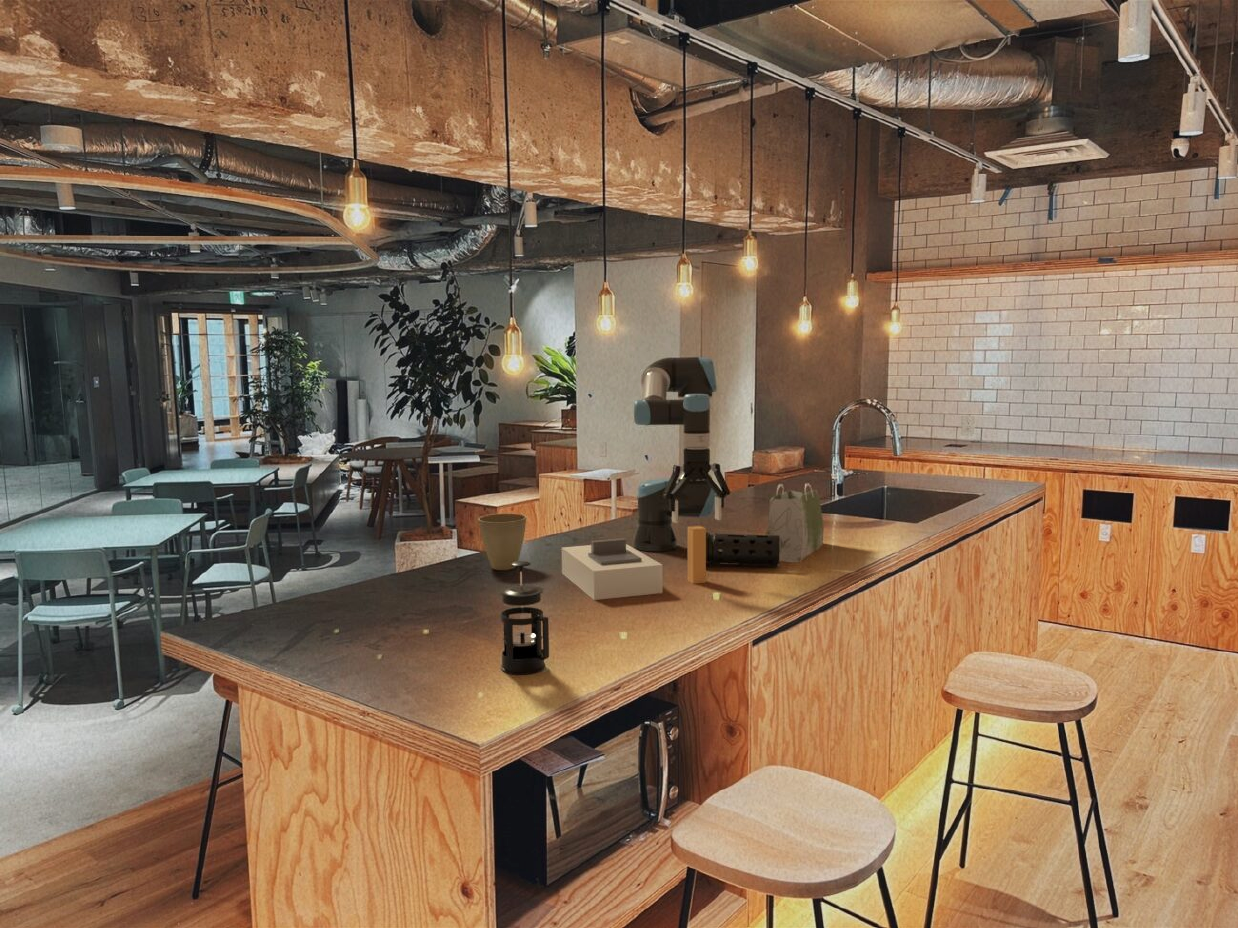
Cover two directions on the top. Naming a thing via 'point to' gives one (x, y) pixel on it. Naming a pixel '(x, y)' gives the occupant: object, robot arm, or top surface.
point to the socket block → (611, 574)
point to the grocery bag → (796, 523)
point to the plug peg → (697, 554)
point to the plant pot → (502, 538)
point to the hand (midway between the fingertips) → (696, 521)
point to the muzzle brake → (743, 549)
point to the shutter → (611, 552)
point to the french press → (522, 647)
